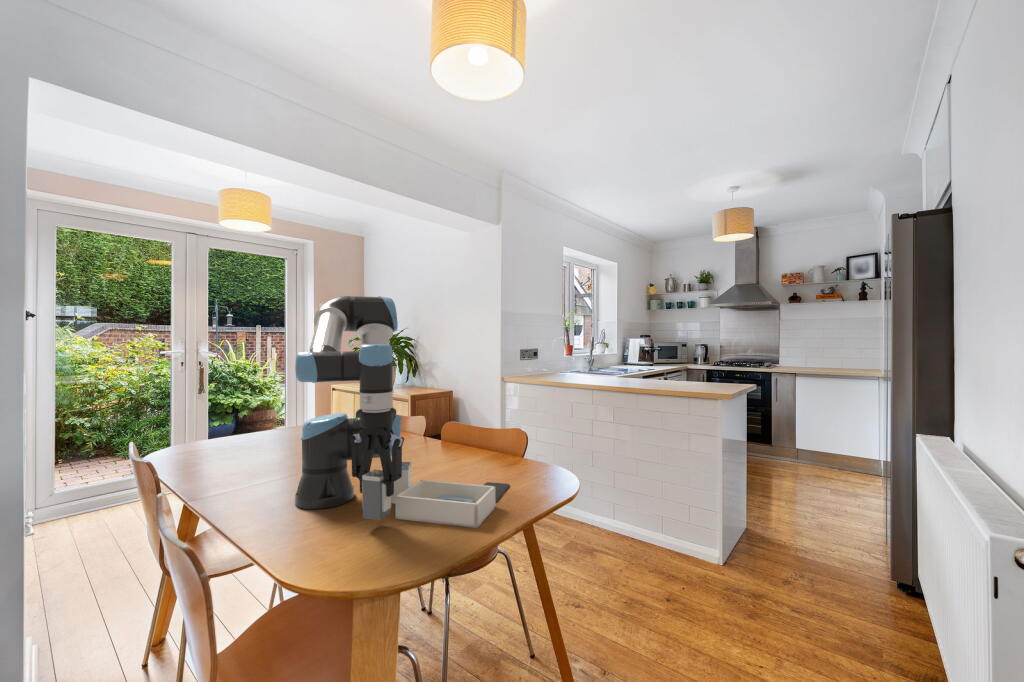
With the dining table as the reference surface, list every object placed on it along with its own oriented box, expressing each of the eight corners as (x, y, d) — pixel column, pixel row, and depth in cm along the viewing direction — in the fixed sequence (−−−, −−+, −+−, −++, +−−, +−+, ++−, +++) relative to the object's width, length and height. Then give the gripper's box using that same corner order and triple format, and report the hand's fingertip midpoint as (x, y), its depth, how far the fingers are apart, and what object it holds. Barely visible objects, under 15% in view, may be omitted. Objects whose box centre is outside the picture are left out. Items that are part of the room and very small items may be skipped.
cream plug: (391, 503, 119) (391, 466, 119) (394, 497, 123) (394, 462, 124) (408, 503, 119) (408, 466, 119) (411, 497, 124) (411, 461, 124)
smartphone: (495, 505, 118) (510, 486, 134) (495, 502, 118) (510, 483, 134) (468, 503, 120) (485, 484, 135) (468, 500, 120) (485, 481, 135)
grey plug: (362, 518, 102) (362, 475, 102) (374, 510, 106) (373, 469, 106) (379, 520, 101) (379, 477, 101) (390, 512, 105) (390, 471, 105)
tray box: (395, 518, 109) (395, 496, 109) (421, 499, 122) (421, 479, 122) (477, 528, 103) (477, 504, 103) (495, 507, 116) (495, 486, 116)
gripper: (334, 410, 102) (334, 510, 102) (401, 414, 97) (401, 518, 98) (354, 405, 109) (354, 498, 110) (417, 408, 104) (418, 506, 105)
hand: (376, 507), depth 104 cm, fingers closed on grey plug, 4 cm apart
